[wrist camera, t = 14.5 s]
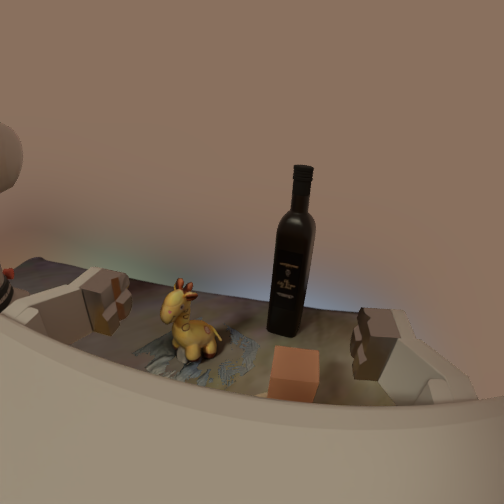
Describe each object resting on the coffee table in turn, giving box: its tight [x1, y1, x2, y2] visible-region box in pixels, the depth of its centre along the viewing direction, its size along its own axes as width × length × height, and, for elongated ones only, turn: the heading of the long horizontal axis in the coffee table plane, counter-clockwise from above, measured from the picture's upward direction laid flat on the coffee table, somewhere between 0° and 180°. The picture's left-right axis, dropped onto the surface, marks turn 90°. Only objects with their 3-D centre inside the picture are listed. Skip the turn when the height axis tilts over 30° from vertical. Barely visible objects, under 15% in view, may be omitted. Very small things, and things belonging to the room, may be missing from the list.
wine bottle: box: [266, 165, 316, 337], centre depth 49 cm, size 6×6×30 cm
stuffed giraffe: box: [132, 278, 260, 389], centre depth 44 cm, size 16×18×16 cm
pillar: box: [267, 346, 319, 403], centre depth 29 cm, size 4×4×10 cm
